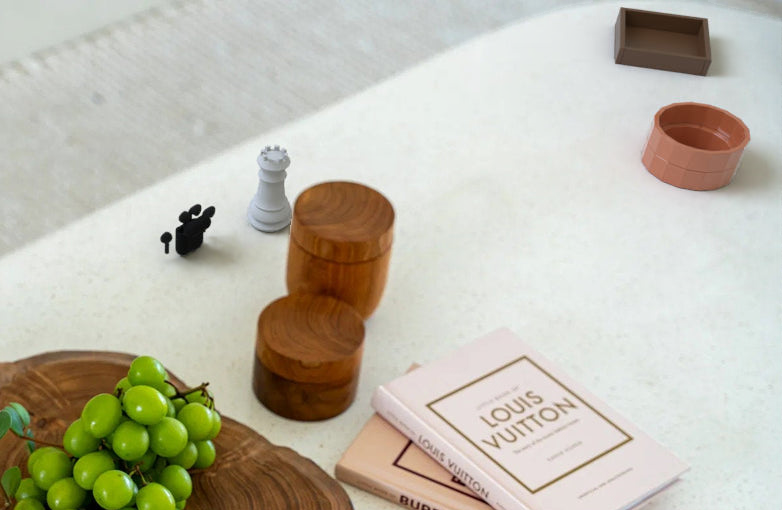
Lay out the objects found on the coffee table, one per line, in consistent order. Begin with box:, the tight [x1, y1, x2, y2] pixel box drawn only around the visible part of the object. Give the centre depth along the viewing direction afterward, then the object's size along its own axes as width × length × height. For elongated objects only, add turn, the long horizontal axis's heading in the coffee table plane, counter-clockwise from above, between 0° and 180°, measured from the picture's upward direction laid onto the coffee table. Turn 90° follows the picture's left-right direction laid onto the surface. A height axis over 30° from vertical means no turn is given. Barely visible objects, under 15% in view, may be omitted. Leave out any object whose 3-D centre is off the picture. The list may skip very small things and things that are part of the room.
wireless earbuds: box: [159, 203, 216, 257], centre depth 109 cm, size 7×2×5 cm, turn 133°
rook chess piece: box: [246, 144, 292, 233], centre depth 111 cm, size 4×4×8 cm
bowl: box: [640, 101, 752, 192], centre depth 119 cm, size 9×9×5 cm
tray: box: [613, 6, 713, 77], centre depth 137 cm, size 10×10×2 cm
